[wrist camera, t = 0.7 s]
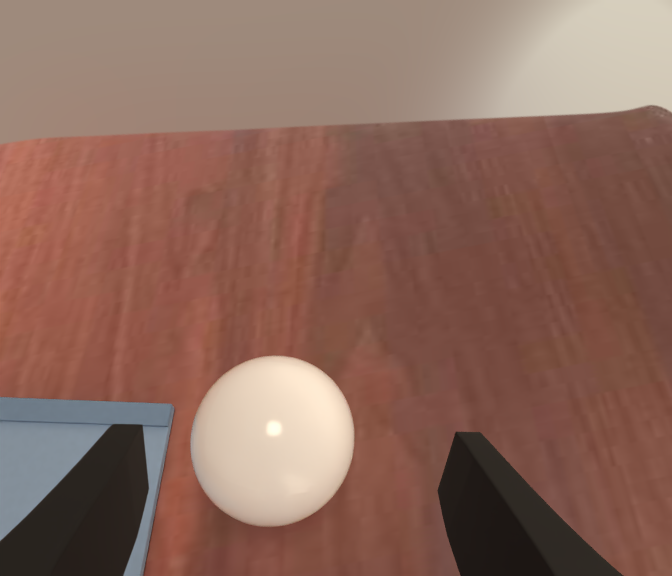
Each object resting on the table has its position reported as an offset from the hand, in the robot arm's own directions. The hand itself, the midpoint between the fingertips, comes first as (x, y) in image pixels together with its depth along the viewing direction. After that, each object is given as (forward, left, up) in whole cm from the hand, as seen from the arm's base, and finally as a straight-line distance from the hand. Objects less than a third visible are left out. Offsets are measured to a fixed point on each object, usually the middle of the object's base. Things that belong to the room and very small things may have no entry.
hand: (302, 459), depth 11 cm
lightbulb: (+2, +1, -16) cm, 16 cm away
